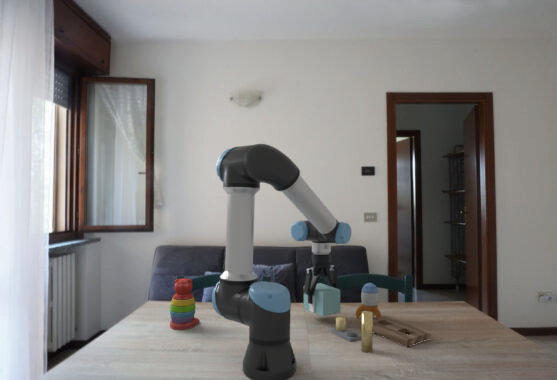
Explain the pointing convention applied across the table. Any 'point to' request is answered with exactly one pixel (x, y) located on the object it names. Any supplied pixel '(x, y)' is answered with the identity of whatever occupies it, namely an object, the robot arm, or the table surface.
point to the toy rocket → (369, 300)
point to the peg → (367, 331)
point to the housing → (325, 300)
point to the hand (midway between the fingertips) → (321, 309)
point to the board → (399, 331)
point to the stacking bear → (183, 306)
